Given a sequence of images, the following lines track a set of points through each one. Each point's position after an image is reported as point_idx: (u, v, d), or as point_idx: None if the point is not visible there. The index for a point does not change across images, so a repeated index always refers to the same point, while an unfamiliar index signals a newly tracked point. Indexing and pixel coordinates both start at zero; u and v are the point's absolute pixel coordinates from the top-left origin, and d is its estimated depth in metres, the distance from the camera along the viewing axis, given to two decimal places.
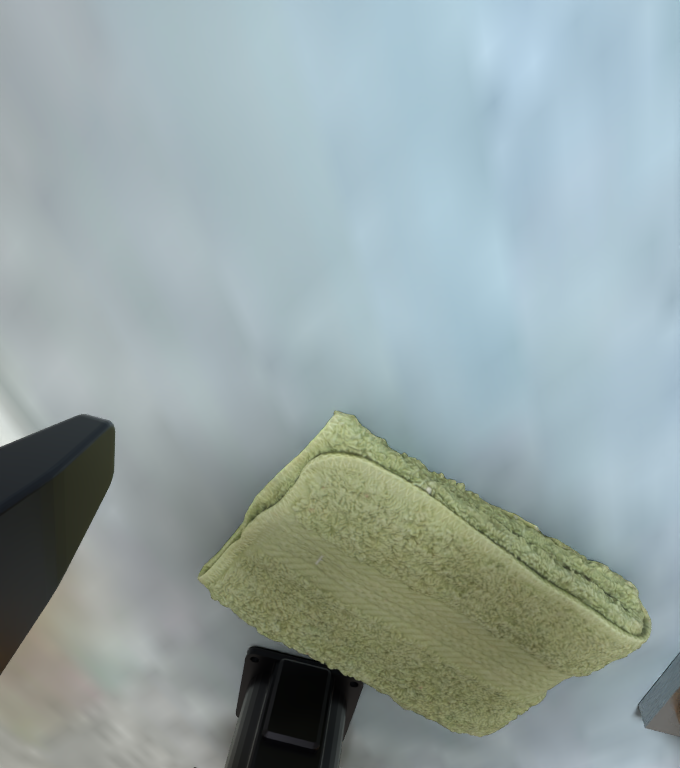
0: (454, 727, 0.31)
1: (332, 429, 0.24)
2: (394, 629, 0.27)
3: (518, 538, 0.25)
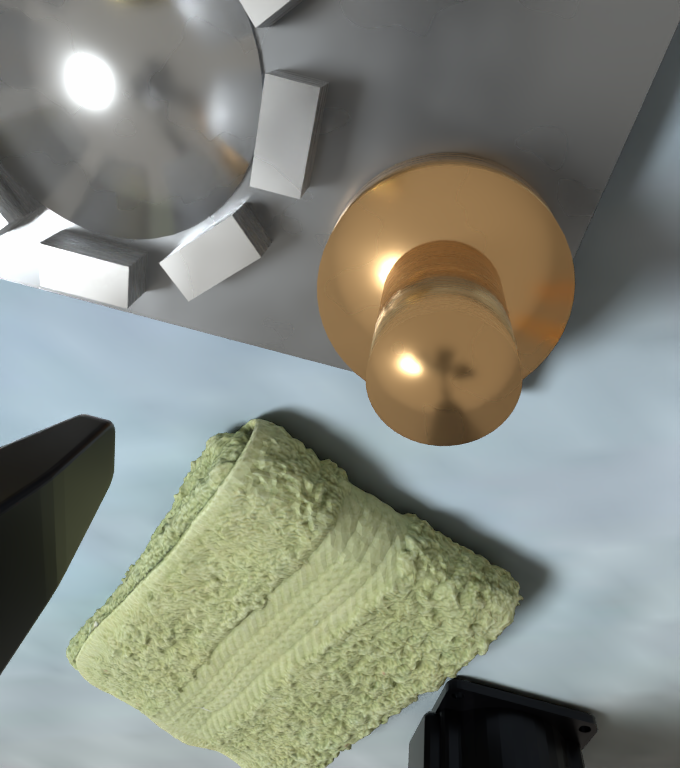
0: (469, 653, 0.21)
1: (72, 664, 0.27)
2: (274, 683, 0.24)
3: (140, 560, 0.23)
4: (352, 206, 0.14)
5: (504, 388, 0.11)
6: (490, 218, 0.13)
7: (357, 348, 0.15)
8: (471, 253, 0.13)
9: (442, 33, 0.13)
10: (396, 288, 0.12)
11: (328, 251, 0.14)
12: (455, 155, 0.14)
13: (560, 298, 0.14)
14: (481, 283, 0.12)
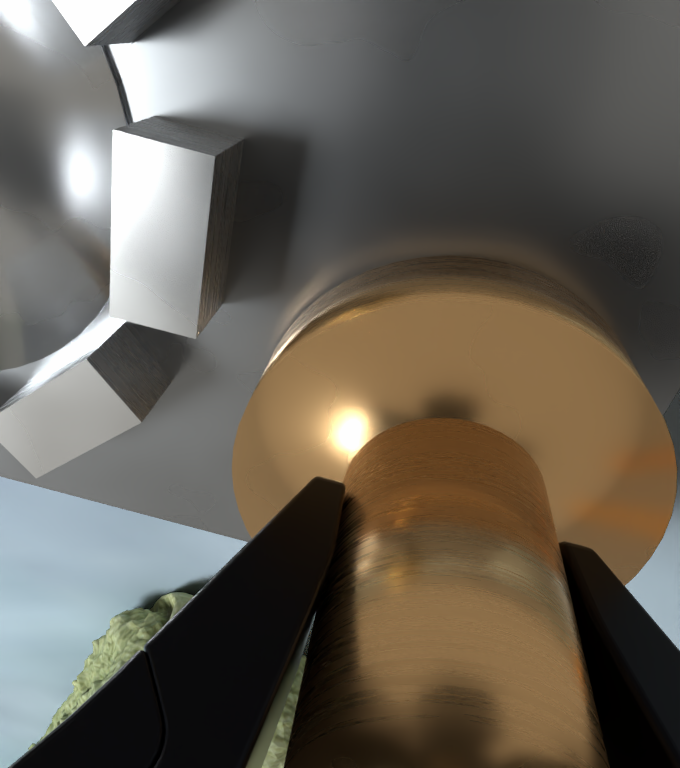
0: None
1: None
2: None
3: None
4: (283, 359, 0.08)
5: None
6: (530, 388, 0.07)
7: None
8: (495, 453, 0.07)
9: (442, 54, 0.07)
10: (354, 549, 0.06)
11: (246, 427, 0.08)
12: (465, 265, 0.08)
13: (648, 512, 0.08)
14: (521, 556, 0.06)
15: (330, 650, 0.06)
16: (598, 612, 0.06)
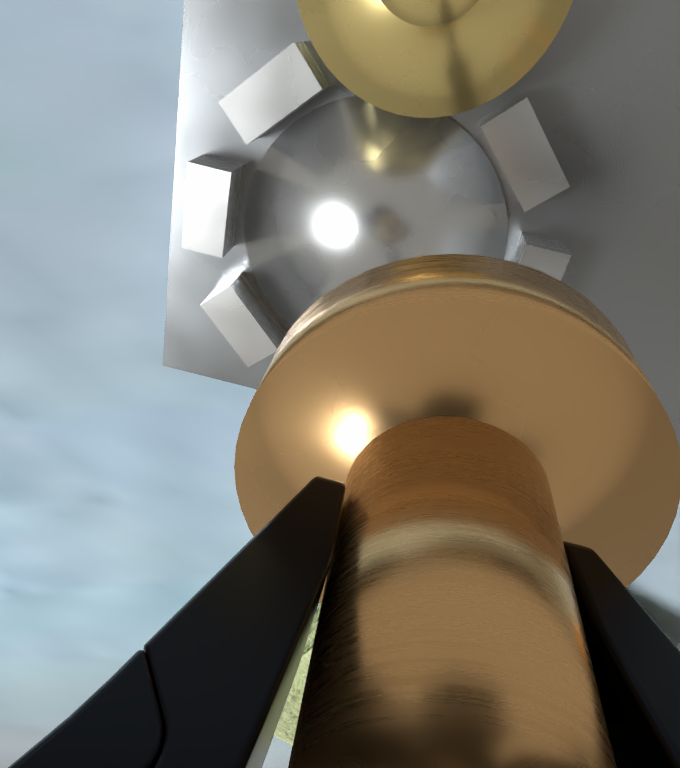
0: None
1: None
2: None
3: None
4: (286, 358, 0.08)
5: None
6: (534, 388, 0.07)
7: None
8: (500, 452, 0.07)
9: (666, 208, 0.16)
10: (358, 548, 0.06)
11: (249, 425, 0.08)
12: (469, 263, 0.08)
13: (653, 512, 0.08)
14: (526, 555, 0.06)
15: (335, 649, 0.05)
16: (598, 612, 0.06)
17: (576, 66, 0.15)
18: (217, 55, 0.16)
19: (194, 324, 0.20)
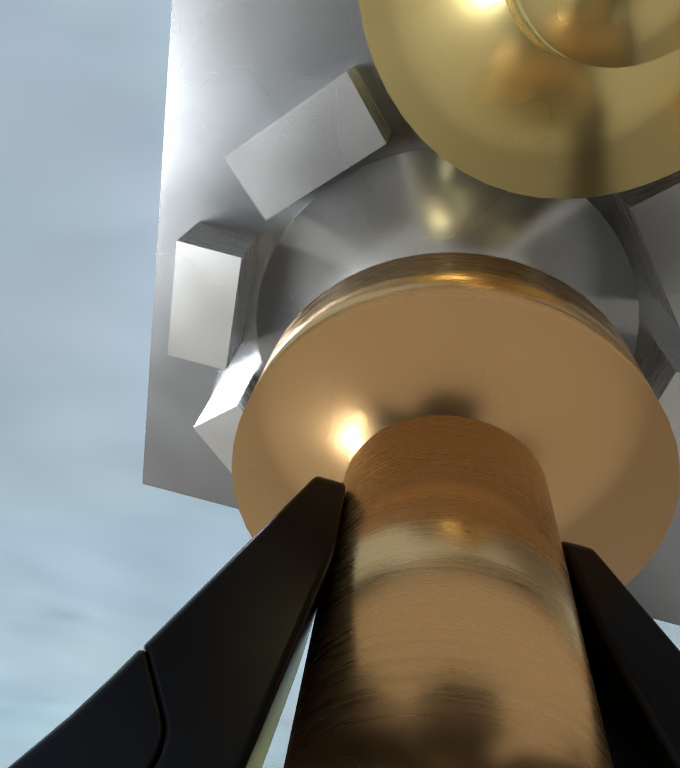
0: None
1: None
2: None
3: None
4: (283, 356, 0.08)
5: None
6: (531, 385, 0.07)
7: None
8: (497, 450, 0.07)
9: None
10: (355, 547, 0.06)
11: (246, 424, 0.08)
12: (467, 262, 0.08)
13: (651, 510, 0.08)
14: (523, 554, 0.06)
15: (330, 648, 0.05)
16: (598, 612, 0.06)
17: None
18: (222, 82, 0.11)
19: (185, 437, 0.15)
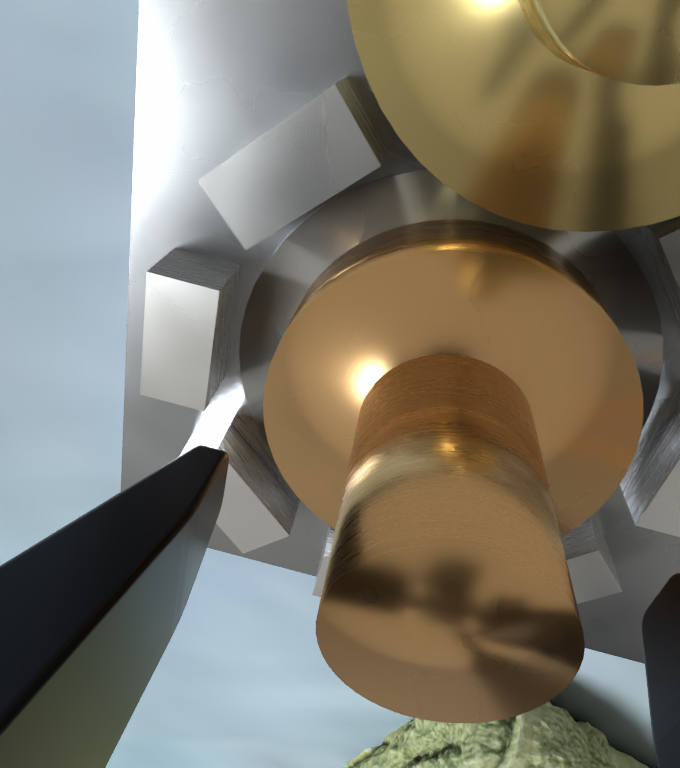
0: None
1: None
2: None
3: None
4: (309, 304, 0.09)
5: (552, 659, 0.06)
6: (518, 327, 0.09)
7: (324, 490, 0.11)
8: (489, 380, 0.09)
9: None
10: (372, 451, 0.08)
11: (277, 365, 0.10)
12: (464, 226, 0.09)
13: (620, 437, 0.10)
14: (508, 451, 0.07)
15: (355, 518, 0.07)
16: None
17: None
18: (197, 95, 0.09)
19: None
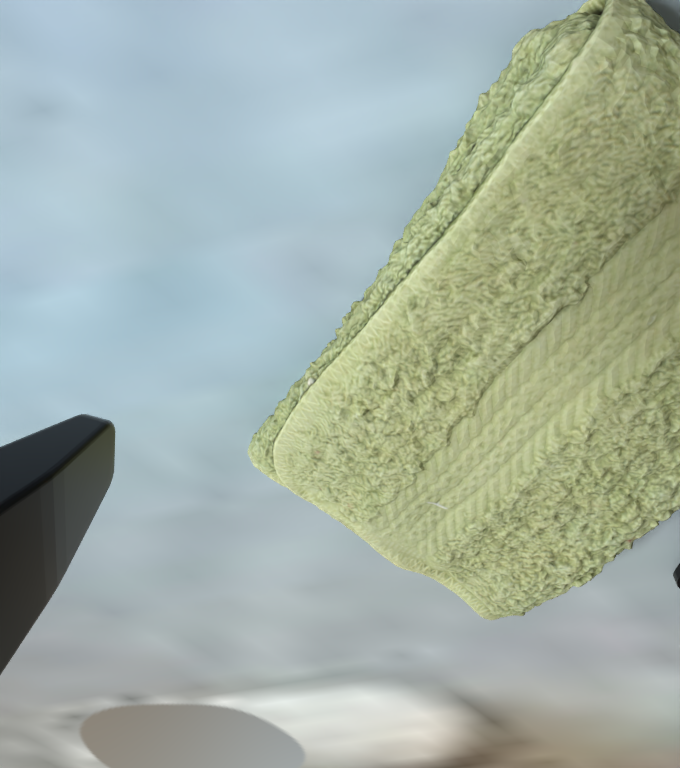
0: None
1: (257, 465, 0.22)
2: (561, 438, 0.18)
3: (390, 264, 0.17)
4: None
5: None
6: None
7: None
8: None
9: None
10: None
11: None
12: None
13: None
14: None
15: None
16: None
17: None
18: None
19: None
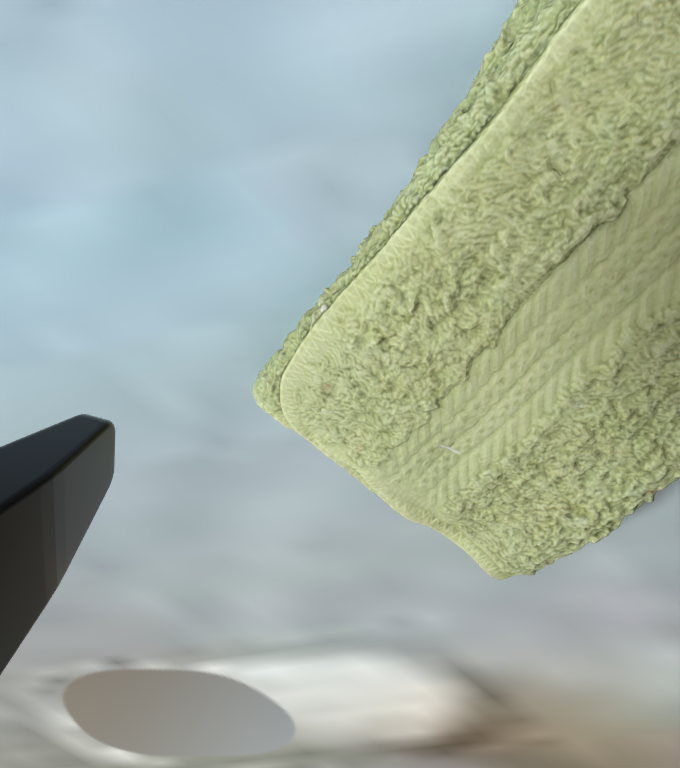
0: None
1: (262, 403, 0.21)
2: (587, 373, 0.17)
3: (415, 177, 0.16)
4: None
5: None
6: None
7: None
8: None
9: None
10: None
11: None
12: None
13: None
14: None
15: None
16: None
17: None
18: None
19: None
